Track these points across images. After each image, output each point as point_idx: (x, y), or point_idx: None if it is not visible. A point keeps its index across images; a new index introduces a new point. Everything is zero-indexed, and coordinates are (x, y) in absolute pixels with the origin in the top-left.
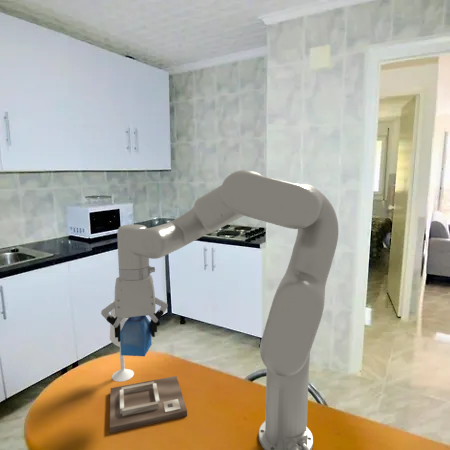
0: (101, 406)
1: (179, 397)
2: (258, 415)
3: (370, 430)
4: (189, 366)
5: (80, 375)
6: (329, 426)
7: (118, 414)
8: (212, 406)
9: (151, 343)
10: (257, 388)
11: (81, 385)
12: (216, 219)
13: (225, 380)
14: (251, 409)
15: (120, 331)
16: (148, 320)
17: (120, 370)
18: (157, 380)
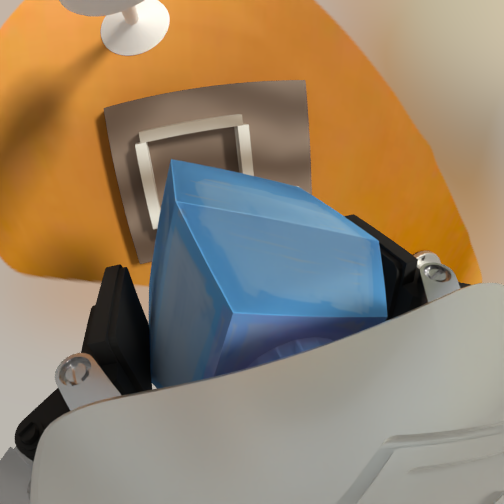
0: (94, 165)
1: (303, 178)
2: (410, 236)
3: (472, 271)
4: (337, 30)
5: (17, 33)
6: (455, 264)
7: (149, 224)
8: (358, 201)
9: (302, 189)
10: (436, 168)
11: (25, 76)
12: None
13: (401, 122)
14: (408, 221)
15: (144, 361)
16: (378, 276)
17: (125, 23)
18: (248, 88)
